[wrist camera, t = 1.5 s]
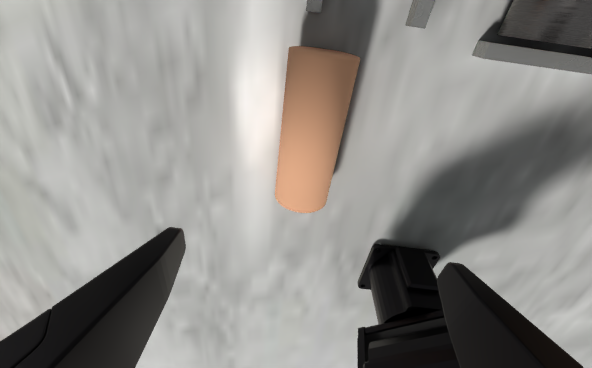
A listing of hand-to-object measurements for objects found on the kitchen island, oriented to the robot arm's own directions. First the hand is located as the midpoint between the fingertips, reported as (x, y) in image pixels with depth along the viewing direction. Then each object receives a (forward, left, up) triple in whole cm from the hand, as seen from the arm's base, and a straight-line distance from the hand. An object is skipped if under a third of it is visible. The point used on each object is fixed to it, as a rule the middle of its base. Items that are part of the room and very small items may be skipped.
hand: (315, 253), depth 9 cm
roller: (0, 0, -12) cm, 12 cm away
